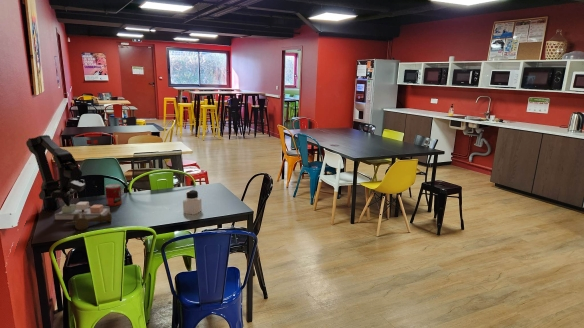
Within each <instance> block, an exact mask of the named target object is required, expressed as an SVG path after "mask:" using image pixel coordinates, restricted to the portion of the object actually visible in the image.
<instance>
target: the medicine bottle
mask: <svg viewBox="0 0 584 328" xmlns="http://www.w3.org/2000/svg"><path fill="white" fill-rule="evenodd" d="M185 193H186V195H185V196H186V198H185V199H184V200H183V201H182V210H183V212H182V213H183V214H186V215H191V214H192V215H193V216H195V215H197V214H199V213H200V211H201V212H202V211H203V210H202V198H199V192H198V191H197V190H195V189H192V190H191V189H189V190H187V191H186V192H185ZM198 212H199V213H198Z"/></svg>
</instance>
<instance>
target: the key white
mask: <svg viewBox="0 0 584 328" xmlns="http://www.w3.org/2000/svg"><path fill="white" fill-rule="evenodd" d="M75 206H76V210H86V209H87V208H88V207H89V206H90V202H89V201H78V202H77V203H76V204H75Z"/></svg>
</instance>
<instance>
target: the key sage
mask: <svg viewBox="0 0 584 328" xmlns="http://www.w3.org/2000/svg"><path fill="white" fill-rule="evenodd" d="M75 206H76V204H75V203H74V204H72V203H70V206H67V205H66V204H64V205H63V206H61V211H62V213H72V212H73V211H74V210H76V207H75Z"/></svg>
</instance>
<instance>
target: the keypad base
mask: <svg viewBox="0 0 584 328" xmlns="http://www.w3.org/2000/svg"><path fill="white" fill-rule="evenodd" d="M92 206H93V205H89V207H88V208H87V209H86V210H74V211H73V212H72V213H62V210H61V211H59V212H57V213H55V214H54V218H55V220H73V217H74V216H75V215H76V214H84V215H85V218H86V219H89V218H93V217H96V216H99V215H100V214H107V213H108V212H110V213H111V210H110V207H111V206H108V205H106V206H104V205H103V211H101V212H100V213H91V212H90V207H92ZM75 207H76V205H75Z"/></svg>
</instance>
